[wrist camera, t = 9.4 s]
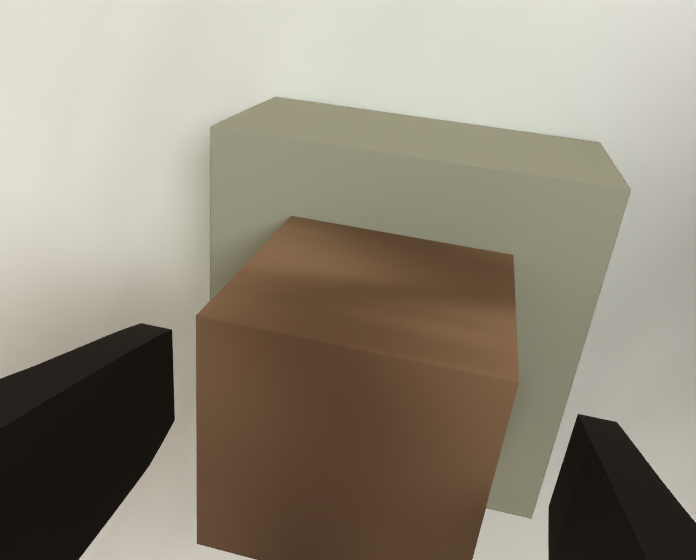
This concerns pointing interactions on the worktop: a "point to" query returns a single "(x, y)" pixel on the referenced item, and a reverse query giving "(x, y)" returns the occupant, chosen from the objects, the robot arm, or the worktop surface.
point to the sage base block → (439, 227)
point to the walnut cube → (354, 396)
